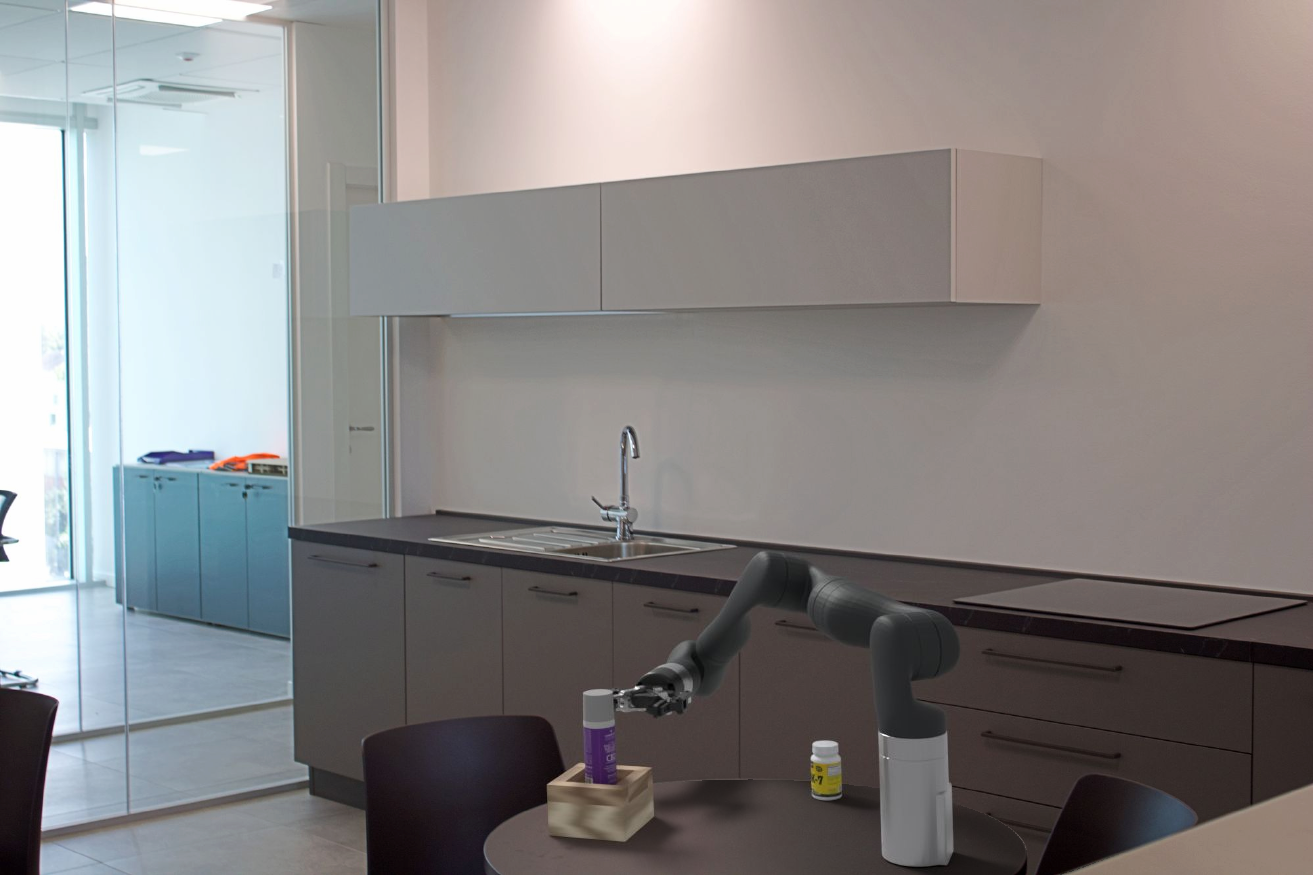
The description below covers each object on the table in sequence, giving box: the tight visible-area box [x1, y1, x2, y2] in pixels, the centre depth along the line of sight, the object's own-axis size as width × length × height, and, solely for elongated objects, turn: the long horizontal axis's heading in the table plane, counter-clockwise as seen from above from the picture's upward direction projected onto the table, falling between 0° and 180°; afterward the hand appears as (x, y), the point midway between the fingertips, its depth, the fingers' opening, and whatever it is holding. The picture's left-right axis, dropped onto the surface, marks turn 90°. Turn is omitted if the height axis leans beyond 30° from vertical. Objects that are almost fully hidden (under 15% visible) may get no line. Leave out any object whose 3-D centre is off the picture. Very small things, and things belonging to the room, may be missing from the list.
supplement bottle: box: [810, 740, 843, 801], centre depth 217 cm, size 5×5×8 cm
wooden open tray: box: [546, 762, 655, 843], centre depth 206 cm, size 12×12×8 cm
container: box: [582, 688, 617, 785], centre depth 206 cm, size 5×5×15 cm
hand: (630, 711), depth 218 cm, fingers open, 8 cm apart
